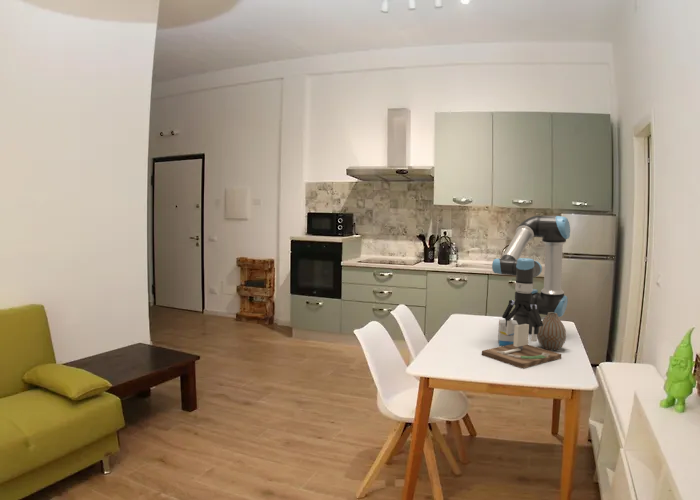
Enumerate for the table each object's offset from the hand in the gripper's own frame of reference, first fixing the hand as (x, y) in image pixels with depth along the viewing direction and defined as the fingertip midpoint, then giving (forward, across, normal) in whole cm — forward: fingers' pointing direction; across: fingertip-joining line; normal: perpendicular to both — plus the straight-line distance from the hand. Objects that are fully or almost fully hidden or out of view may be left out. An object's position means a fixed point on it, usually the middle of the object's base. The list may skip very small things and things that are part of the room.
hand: (521, 337), depth 222 cm
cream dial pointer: (+6, 0, -4) cm, 7 cm away
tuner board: (+8, +2, -2) cm, 9 cm away
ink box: (+8, -15, +10) cm, 20 cm away
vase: (+8, +1, +23) cm, 24 cm away
